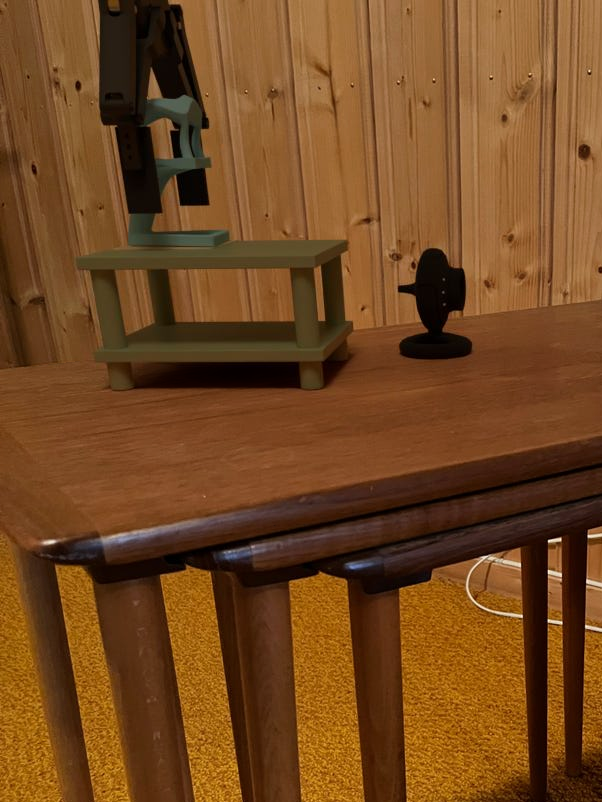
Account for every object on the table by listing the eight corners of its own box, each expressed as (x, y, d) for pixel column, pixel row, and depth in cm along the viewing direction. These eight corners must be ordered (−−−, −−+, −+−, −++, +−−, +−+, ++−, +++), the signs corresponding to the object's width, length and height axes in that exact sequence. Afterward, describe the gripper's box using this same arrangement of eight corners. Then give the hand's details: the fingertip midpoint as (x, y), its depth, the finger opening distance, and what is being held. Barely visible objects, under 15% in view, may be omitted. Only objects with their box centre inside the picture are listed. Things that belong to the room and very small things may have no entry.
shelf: (99, 391, 85) (74, 256, 80) (161, 357, 99) (143, 240, 95) (326, 391, 84) (314, 253, 79) (355, 356, 99) (347, 238, 94)
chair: (143, 241, 93) (121, 98, 88) (231, 240, 93) (214, 96, 88) (120, 248, 86) (94, 93, 81) (215, 247, 86) (195, 92, 81)
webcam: (464, 360, 96) (462, 251, 91) (391, 358, 97) (385, 251, 93) (478, 346, 103) (477, 244, 98) (409, 345, 104) (405, 244, 100)
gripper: (119, -116, 68) (167, 217, 77) (221, -49, 90) (248, 202, 99) (14, -113, 68) (74, 217, 78) (141, -48, 90) (175, 203, 100)
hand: (172, 209), depth 89 cm, fingers open, 13 cm apart
